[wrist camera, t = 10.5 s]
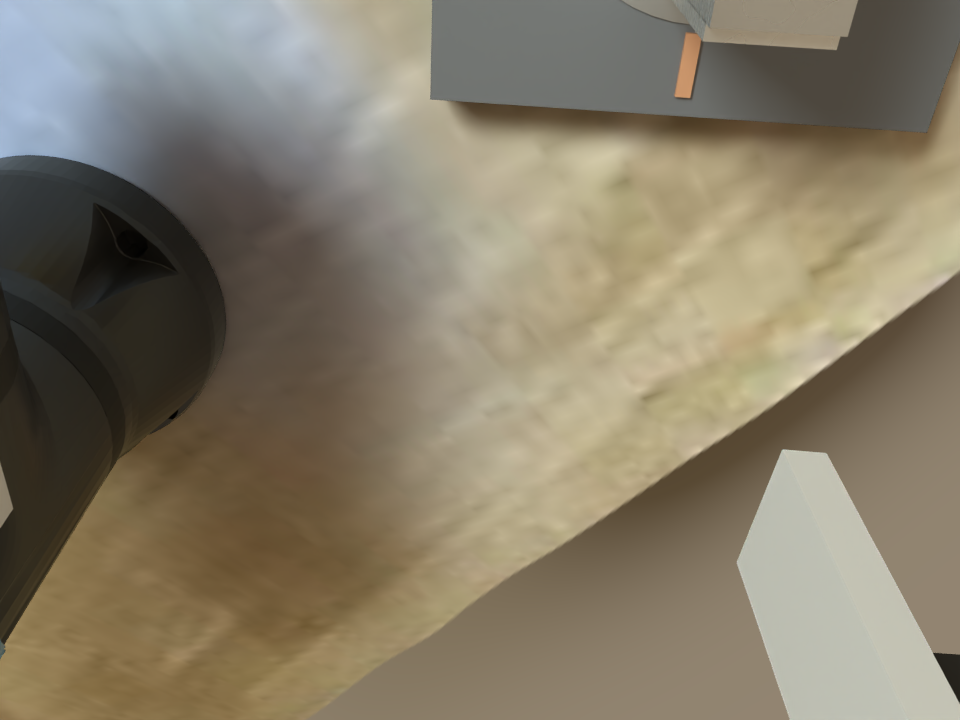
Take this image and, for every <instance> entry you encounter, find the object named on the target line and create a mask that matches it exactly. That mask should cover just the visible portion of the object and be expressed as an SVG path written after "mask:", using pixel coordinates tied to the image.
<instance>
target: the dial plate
mask: <svg viewBox="0 0 960 720" xmlns="http://www.w3.org/2000/svg"><path fill="white" fill-rule="evenodd" d="M959 42H960V0H858V2H857V5H856V9H855V13H854V16H853V20H852V23H851V27H850V30H849V34H848V37H842V36H840V40H839V43H838V47H837V50H828V49H813V48H797V47H782V46H766V45H751V44H735V43H720V42H704V41H702V40H701V38H700V37H699V36H698V34H697V33H696V32H695V30H694V29H693V28H692V26H691V25H690V24H689V22H688V21H687V20H686V18H685V17H684V16H683V14H682V13H681V12H680V10H679V9H678V7H677V6H676V5H675V3H674V2H673V1H672V0H432V45H431V95H430V99H432V100H447V101H462V102H477V103H492V104H507V105H521V106H536V107H551V108H566V109H581V110H596V111H611V112H626V113H641V114H655V115H670V116H685V117H700V118H715V119H730V120H745V121H760V122H775V123H789V124H804V125H819V126H834V127H849V128H864V129H879V130H894V131H909V132H923V133H927V131H928V128H929V125H930V123H931V120H932V117H933V114H934V111H935V109H936V106H937V103H938V100H939V97H940V95H941V92H942V89H943V86H944V84H945V81H946V78H947V75H948V72H949V70H950V67H951V64H952V61H953V58H954V56H955V53H956V50H957V47H958V45H959Z"/></svg>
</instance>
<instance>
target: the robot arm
mask: <svg viewBox="0 0 960 720" xmlns="http://www.w3.org/2000/svg"><path fill="white" fill-rule="evenodd" d="M225 331H226V317H225V307H224V302H223V297H222V294H221V290H220V287H219V284H218V281H217V279H216V276H215V274H214V272H213V269H212V267H211V266H210V264H209V262H208V260H207V258H206V256H205V255H204V253H203V252H202V250H201V248H200V247H199V246H198V244H197V243H196V241H195V240H194V239H193V237H192V236H191V235H190V234H189V232H188V231H187V230H186V229H185V228H184V227H183V226H182V225H181V223H180V222H179V221H178V220H177V219H176V218H175V217H174V216H173V215H172V214H170V213H169V212H168V211H167V210H166V209H165V208H164V207H162V206H161V205H160V204H159V203H158V202H156V201H155V200H154V199H152V198H151V197H150V196H148V195H147V194H145V193H144V192H142V191H141V190H140V189H138V188H136V187H135V186H133V185H131V184H130V183H128V182H126V181H124V180H122V179H120V178H118V177H116V176H114V175H112V174H110V173H108V172H105V171H103V170H101V169H98V168H95V167H93V166H90V165H86V164H83V163H80V162H76V161H72V160H68V159H63V158H57V157H49V156H35V155H25V156H12V157H5V158H0V659H1V657H2V655H3V654H4V652H5V650H4V648H5V646H4V644H5V642H6V640H7V639H8V637H9V636H10V634H11V632H12V631H13V629H14V627H15V626H16V624H17V623H18V621H19V619H20V618H21V616H22V614H23V613H24V611H25V609H26V608H27V606H28V605H29V603H30V601H31V600H32V598H33V596H34V595H35V593H36V592H37V590H38V588H39V587H40V585H41V583H42V582H43V580H44V578H45V577H46V575H47V574H48V572H49V570H50V569H51V567H52V565H53V564H54V562H55V561H56V559H57V557H58V556H59V554H60V552H61V551H62V549H63V547H64V546H65V544H66V543H67V541H68V539H69V538H70V536H71V534H72V533H73V531H74V530H75V528H76V526H77V525H78V523H79V521H80V520H81V518H82V517H83V515H84V513H85V512H86V510H87V508H88V507H89V505H90V503H91V502H92V500H93V499H94V497H95V495H96V494H97V492H98V490H99V489H100V487H101V486H102V484H103V482H104V481H105V479H106V477H107V476H108V474H109V473H110V471H111V470H112V468H113V466H114V465H115V463H116V461H117V460H118V459H119V458H120V457H122V456H123V455H125V454H126V453H127V452H129V451H130V450H131V449H132V448H134V447H135V446H136V445H137V444H138V443H139V442H140V441H141V440H142V439H143V438H144V437H146V436H147V435H148V434H151V433H153V432H155V431H157V430H159V429H161V428H163V427H165V426H166V425H168V424H169V423H171V422H172V421H174V420H175V419H176V418H178V417H179V416H180V415H181V414H183V413H184V412H185V411H186V410H187V409H188V408H189V407H190V406H191V405H192V403H193V402H194V401H195V400H196V399H197V397H198V396H199V395H200V393H201V392H202V390H203V388H204V387H205V385H206V383H207V381H208V379H209V378H210V376H211V374H212V372H213V370H214V369H215V367H216V365H217V363H218V360H219V358H220V355H221V352H222V349H223V345H224V340H225ZM737 565H738V567H739V571H740V574H741V577H742V579H743V583H744V586H745V589H746V591H747V594H748V597H749V600H750V603H751V606H752V609H753V612H754V615H755V618H756V621H757V624H758V627H759V630H760V633H761V635H762V638H763V642H764V645H765V648H766V651H767V653H768V656H769V659H770V662H771V665H772V668H773V671H774V674H775V677H776V680H777V683H778V686H779V689H780V692H781V695H782V698H783V701H784V704H785V707H786V709H787V713H788V716H789V719H790V720H960V655H956V654H942V653H932V651H931V649H930V647H929V645H928V643H927V642H926V640H925V638H924V636H923V634H922V632H921V630H920V628H919V626H918V624H917V623H916V621H915V619H914V617H913V615H912V613H911V611H910V609H909V608H908V606H907V604H906V602H905V600H904V598H903V596H902V594H901V593H900V591H899V589H898V587H897V585H896V583H895V581H894V580H893V578H892V576H891V574H890V572H889V570H888V568H887V566H886V564H885V562H884V561H883V559H882V557H881V555H880V553H879V551H878V549H877V547H876V545H875V544H874V542H873V540H872V538H871V536H870V535H869V532H868V531H867V529H866V527H865V525H864V523H863V521H862V519H861V517H860V515H859V514H858V512H857V510H856V508H855V506H854V504H853V502H852V500H851V498H850V497H849V495H848V493H847V491H846V489H845V487H844V485H843V483H842V482H841V480H840V478H839V476H838V474H837V472H836V470H835V468H834V467H833V465H832V463H831V461H830V459H829V457H828V455H827V453H818V452H805V451H794V450H782V452H781V454H780V457H779V459H778V462H777V464H776V467H775V469H774V471H773V474H772V477H771V479H770V481H769V484H768V486H767V489H766V491H765V494H764V496H763V499H762V501H761V504H760V506H759V509H758V511H757V513H756V516H755V518H754V521H753V523H752V526H751V528H750V531H749V533H748V536H747V538H746V541H745V543H744V546H743V548H742V551H741V553H740V555H739V558H738V560H737Z"/></svg>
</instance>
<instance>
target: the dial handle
mask: <svg viewBox="0 0 960 720" xmlns="http://www.w3.org/2000/svg"><path fill="white" fill-rule="evenodd" d="M672 1H673V2H674V3H675V5H676V6H677V7H678V9H679V10H680V12H681V13H682V14H683V16H684V17H685V18H686V20H687V21H688V22H689V24H690V25H691V26H692V28H693V29H694V30H695V32H696V33H697V34H698V36H699V37H700V38H701V40H702V41H704V42H720V43H735V44H751V45H766V46H782V47H797V48H813V49H828V50H837V47H838V43H839V40H840V36H842V37H848V34H849V30H850V27H851V23H852V20H853V16H854V13H855V9H856V5H857V2H858V0H672Z"/></svg>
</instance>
